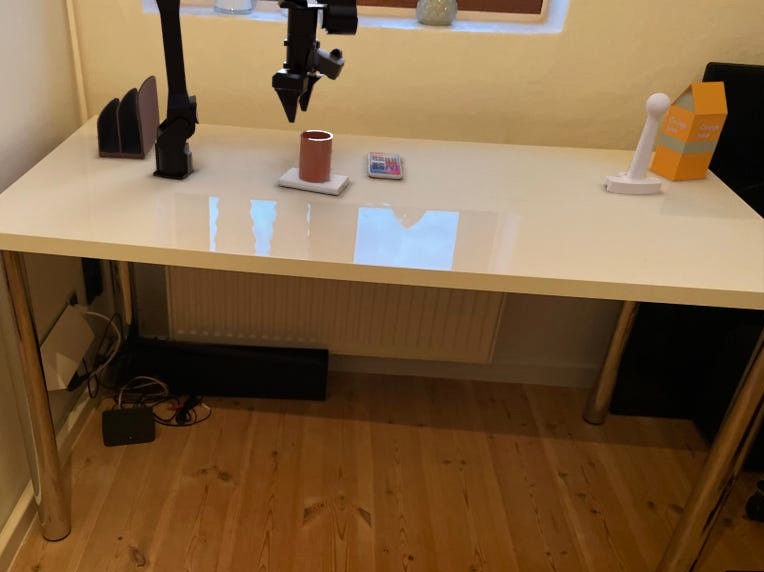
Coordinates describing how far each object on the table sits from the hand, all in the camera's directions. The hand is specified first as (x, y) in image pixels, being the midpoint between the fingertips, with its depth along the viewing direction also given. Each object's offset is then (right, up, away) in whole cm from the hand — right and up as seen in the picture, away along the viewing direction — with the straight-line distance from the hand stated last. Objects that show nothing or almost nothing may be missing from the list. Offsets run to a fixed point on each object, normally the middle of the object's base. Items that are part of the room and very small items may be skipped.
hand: (298, 116), depth 149 cm
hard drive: (+3, -14, +1) cm, 14 cm away
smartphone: (+19, -7, +12) cm, 23 cm away
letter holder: (-38, -1, +17) cm, 42 cm away
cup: (+3, -12, 0) cm, 13 cm away
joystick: (+71, -13, +8) cm, 72 cm away
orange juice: (+86, -7, +17) cm, 88 cm away
